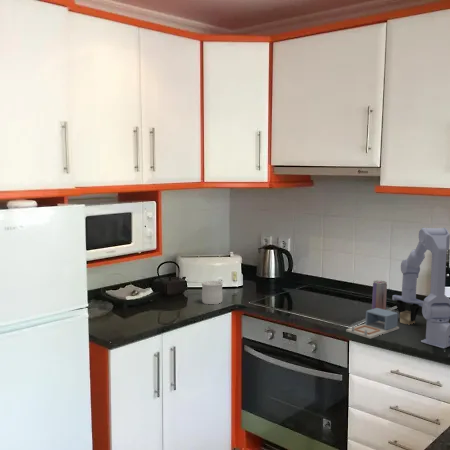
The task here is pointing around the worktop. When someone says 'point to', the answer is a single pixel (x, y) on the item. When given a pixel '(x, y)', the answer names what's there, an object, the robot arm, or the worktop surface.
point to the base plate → (370, 329)
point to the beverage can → (379, 294)
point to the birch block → (406, 317)
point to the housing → (382, 317)
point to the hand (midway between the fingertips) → (407, 319)
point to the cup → (212, 292)
